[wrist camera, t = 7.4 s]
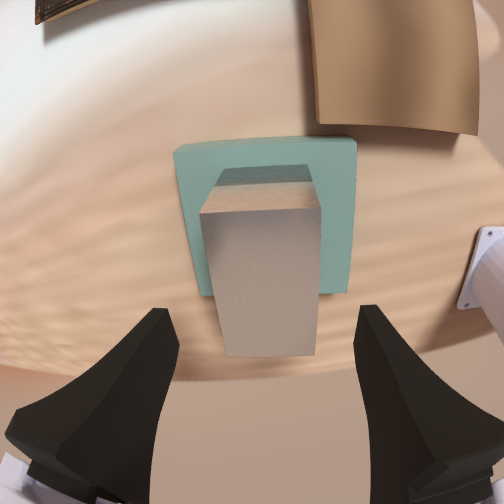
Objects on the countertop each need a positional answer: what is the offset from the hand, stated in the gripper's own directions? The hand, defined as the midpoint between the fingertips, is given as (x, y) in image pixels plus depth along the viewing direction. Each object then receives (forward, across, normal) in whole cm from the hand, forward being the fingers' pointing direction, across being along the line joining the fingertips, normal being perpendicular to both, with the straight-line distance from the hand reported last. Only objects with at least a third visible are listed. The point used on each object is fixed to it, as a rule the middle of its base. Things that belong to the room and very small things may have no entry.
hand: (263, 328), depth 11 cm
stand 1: (+10, 0, 0) cm, 10 cm away
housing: (+8, 0, 0) cm, 8 cm away
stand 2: (+10, -8, -11) cm, 17 cm away
